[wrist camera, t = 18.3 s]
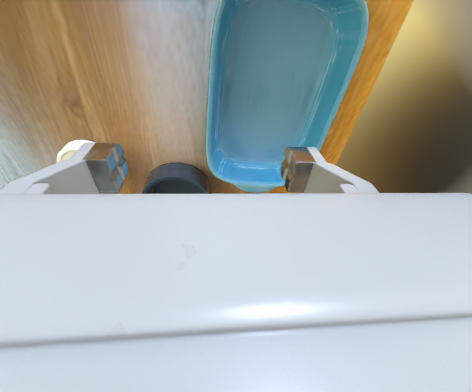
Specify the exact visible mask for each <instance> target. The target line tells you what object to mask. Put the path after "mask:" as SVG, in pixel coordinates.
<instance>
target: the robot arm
mask: <svg viewBox="0 0 472 392" xmlns="http://www.w3.org/2000/svg"><path fill="white" fill-rule="evenodd" d="M122 154H123V149H122V146H121V145H120V144H115V143H84V144H83V145H82V146H81V147H80V148H79V149H78V150H77V151H76V152H75V154H74V155H73V156H72V157H71V158H70V159H69V160H63V161H61V162H58V163H56V164H53V165H51V166H48V167H46V168H43V169H41V170H38V171H36V172H33V173H31V174H28V175H26V176H23V177H21V178H18V179H16V180H13V181H11V182H8V183H7V184H6V185H5V186H4V187H3V188H2V189H0V392H472V194H468V193H379V192H378V191H377V190H376V188H375V187H374V186H373V185H372V184H371V183H369V182H367V181H365V180H363V179H361V178H359V177H357V176H355V175H353V174H351V173H349V172H347V171H345V170H343V169H341V168H339V167H337V166H335V165H333V164H331V163H327V162H326V161H325V159H324V158H323V156H322V155H321V154H320V152H319V151H318V149H317V148H316V147H286V149H285V151H284V156H285V160H284V161H283V162H282V165H281V177H282V179H283V180H285V187H286V189H287V192H290V193H265V194H100V193H119V191H120V189H121V187H122V185H123V183H122V180H124V179H125V178H126V176H127V173H128V166H127V162H126V160H125V159H124V158H123V157H122Z"/></svg>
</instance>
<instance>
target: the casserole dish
mask: <svg viewBox="0 0 472 392" xmlns="http://www.w3.org/2000/svg"><path fill="white" fill-rule="evenodd" d="M368 25H369V13H368V7H367V3H366V1H365V0H220V1H219V4H218V7H217V10H216V15H215V19H214V25H213V31H212V40H211V50H210V64H209V82H208V102H207V121H206V157H207V163H208V166H209V169H210V170H211V172H212V173H213V175H214V176H216V177H217V178H218V179H220V180H223V181H225V182H228V183H232V184H233V185H235V186H236V187H237V188H239V189H241V190H243V191H246V192H256V193H258V192H267V191H270V190H273V189H275V188H277V187H280V186H285V180H283V179H282V177H281V165H282V162H283V161H284V160H285V156H284V151H285V149H286V147H316V148H317V149H318V151H320V149H321V147H322V145H323V143H324V140H325V138H326V136H327V133H328V131H329V129H330V126H331V124H332V122H333V120H334V117H335V115H336V113H337V110H338V108H339V106H340V104H341V101H342V99H343V97H344V95H345V92H346V90H347V88H348V85H349V83H350V81H351V78H352V76H353V74H354V71H355V69H356V66H357V64H358V61H359V58H360V56H361V53H362V50H363V47H364V44H365V40H366V37H367V32H368Z"/></svg>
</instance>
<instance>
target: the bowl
mask: <svg viewBox="0 0 472 392" xmlns="http://www.w3.org/2000/svg"><path fill="white" fill-rule="evenodd" d="M142 194H211V186H210V183H209V181H208V179H207V177H206V176H205V175H204V174H203V173H202V172H201V171H199V170H198V169H196V168H194V167H193V166H190V165H186V164H183V163H169V164H165V165H161V166H159V167H158V168H156V169H154V170H153V171H152V172H151V173H150V175H149V176H148V178H147V180H146V183H145V186H144V189H143V191H142Z"/></svg>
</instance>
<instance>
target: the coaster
mask: <svg viewBox="0 0 472 392" xmlns="http://www.w3.org/2000/svg"><path fill="white" fill-rule="evenodd" d="M84 143H95V142H92V141H88V140H75V141H72V142H69V143H68V144H67V145H66V146H65V147H64V148H63V149H62V150H61V151H60V152H59V153H58V156H57V163H58V162H61V161H63V160H69V159H70V158H71V157H72V156H73V155H74V154H75V152H76V151H77V150H78V149H79V148H80V147H81V146H82V145H83V144H84Z"/></svg>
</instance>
